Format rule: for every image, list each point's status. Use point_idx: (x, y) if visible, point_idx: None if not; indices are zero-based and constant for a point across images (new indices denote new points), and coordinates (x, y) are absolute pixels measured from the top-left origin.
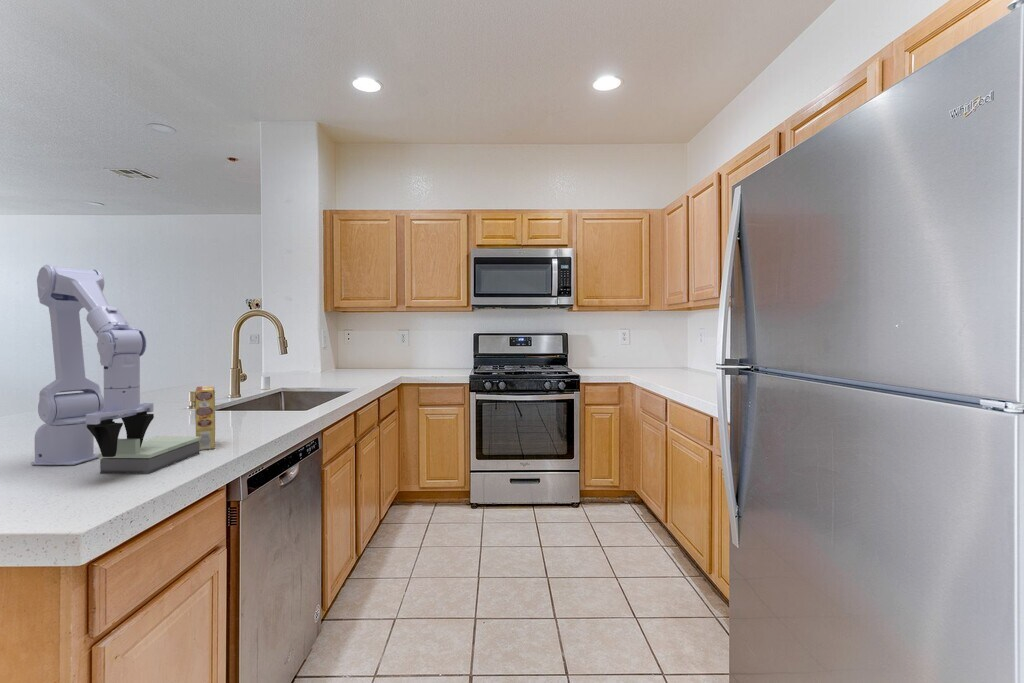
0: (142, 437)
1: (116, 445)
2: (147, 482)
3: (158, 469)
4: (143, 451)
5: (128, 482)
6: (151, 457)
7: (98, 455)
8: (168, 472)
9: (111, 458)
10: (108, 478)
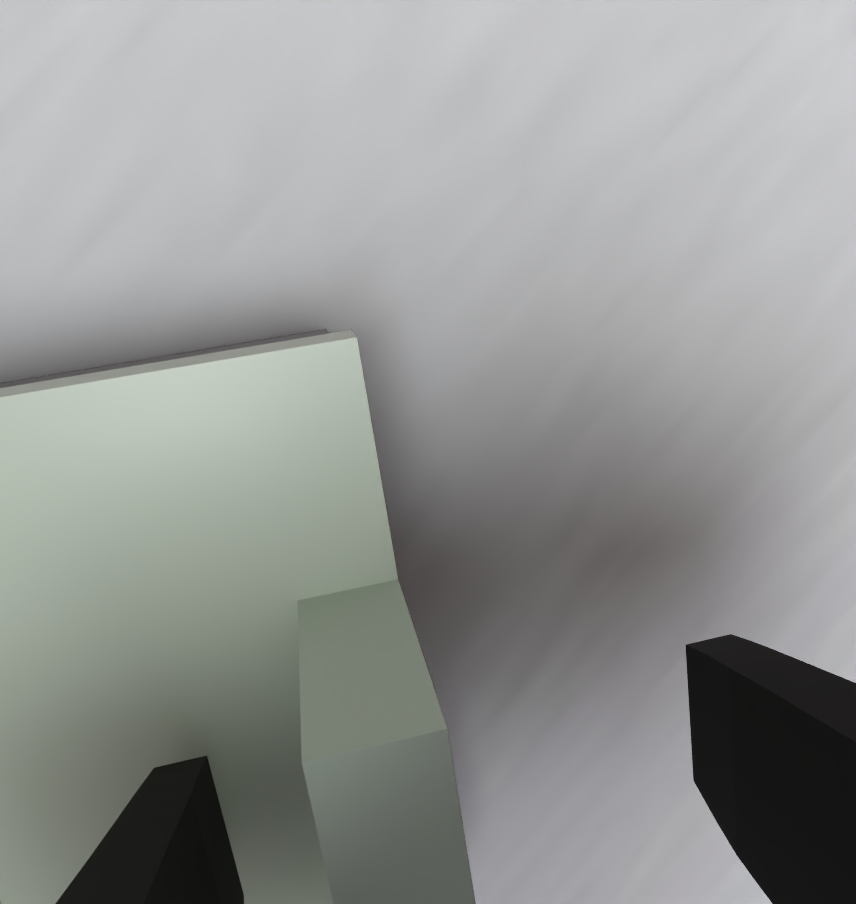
0: (101, 894)
1: (825, 709)
2: (632, 20)
3: (152, 359)
4: (208, 626)
5: (650, 259)
6: (304, 340)
7: None
8: (218, 111)
9: None
10: (551, 602)
